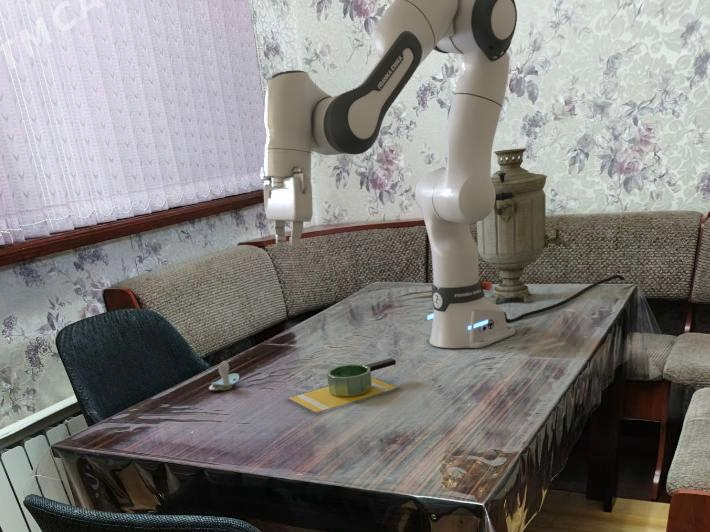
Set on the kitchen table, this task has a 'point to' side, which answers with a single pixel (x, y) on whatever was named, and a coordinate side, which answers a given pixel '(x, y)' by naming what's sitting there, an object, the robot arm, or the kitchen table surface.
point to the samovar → (515, 224)
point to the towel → (336, 397)
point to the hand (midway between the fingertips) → (287, 246)
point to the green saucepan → (354, 378)
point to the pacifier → (225, 378)
